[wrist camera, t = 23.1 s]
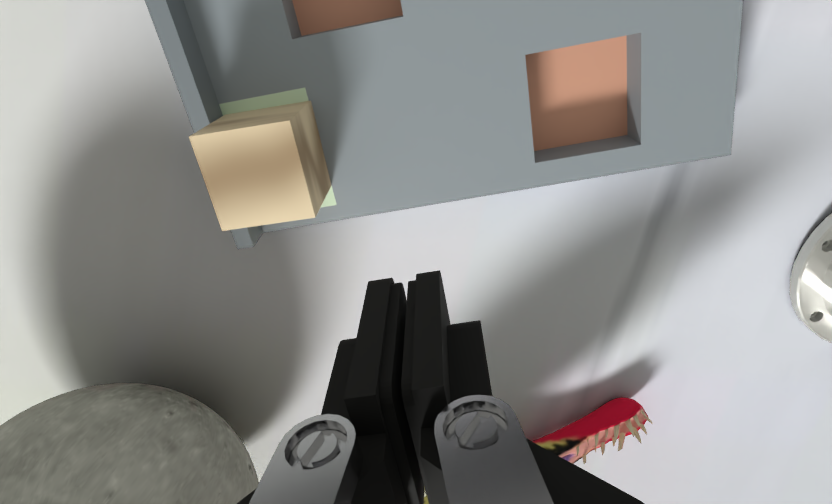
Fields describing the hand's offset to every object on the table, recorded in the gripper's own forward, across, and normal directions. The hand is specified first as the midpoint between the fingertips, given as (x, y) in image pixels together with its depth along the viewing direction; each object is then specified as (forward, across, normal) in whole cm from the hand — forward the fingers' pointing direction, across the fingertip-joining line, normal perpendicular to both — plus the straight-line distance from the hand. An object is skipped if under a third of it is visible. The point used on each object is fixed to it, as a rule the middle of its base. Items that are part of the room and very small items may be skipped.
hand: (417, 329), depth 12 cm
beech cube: (+20, +8, 0) cm, 21 cm away
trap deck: (+22, -3, -4) cm, 23 cm away
